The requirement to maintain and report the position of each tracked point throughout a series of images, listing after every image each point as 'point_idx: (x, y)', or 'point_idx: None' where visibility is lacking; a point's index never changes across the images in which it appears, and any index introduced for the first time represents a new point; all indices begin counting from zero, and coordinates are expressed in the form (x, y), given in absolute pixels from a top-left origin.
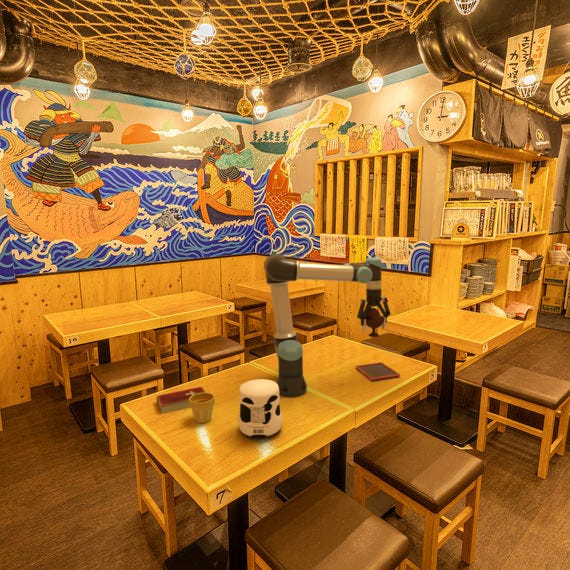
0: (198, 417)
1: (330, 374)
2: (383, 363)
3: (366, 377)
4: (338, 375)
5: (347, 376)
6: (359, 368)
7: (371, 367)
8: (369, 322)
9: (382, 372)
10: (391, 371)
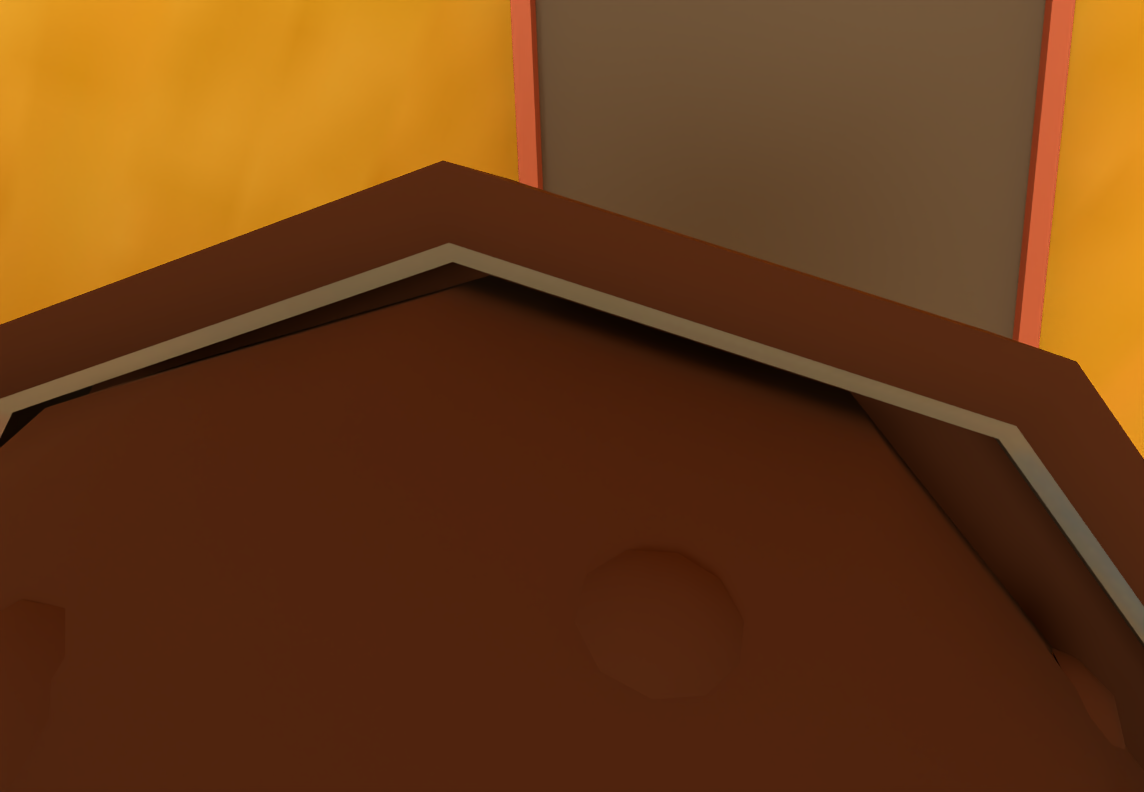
0: None
1: (76, 43)
2: (1069, 2)
3: None
4: (179, 120)
5: (294, 200)
6: (523, 91)
7: (776, 52)
8: None
9: None
10: (998, 329)
